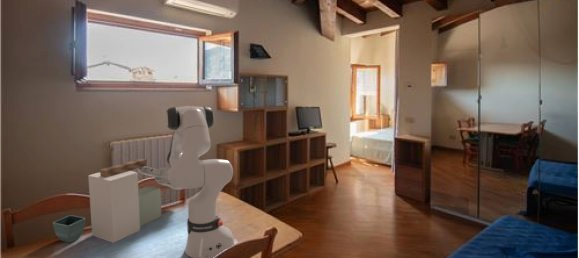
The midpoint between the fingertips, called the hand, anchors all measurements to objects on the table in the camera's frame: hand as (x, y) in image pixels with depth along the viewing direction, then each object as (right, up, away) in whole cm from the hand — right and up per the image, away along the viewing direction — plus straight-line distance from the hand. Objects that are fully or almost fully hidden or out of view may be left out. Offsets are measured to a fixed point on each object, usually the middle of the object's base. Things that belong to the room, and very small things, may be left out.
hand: (145, 168), depth 174 cm
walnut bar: (-5, 0, -10) cm, 12 cm away
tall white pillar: (-9, -28, -11) cm, 31 cm away
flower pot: (-25, -29, -18) cm, 43 cm away
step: (-2, -26, +3) cm, 26 cm away
